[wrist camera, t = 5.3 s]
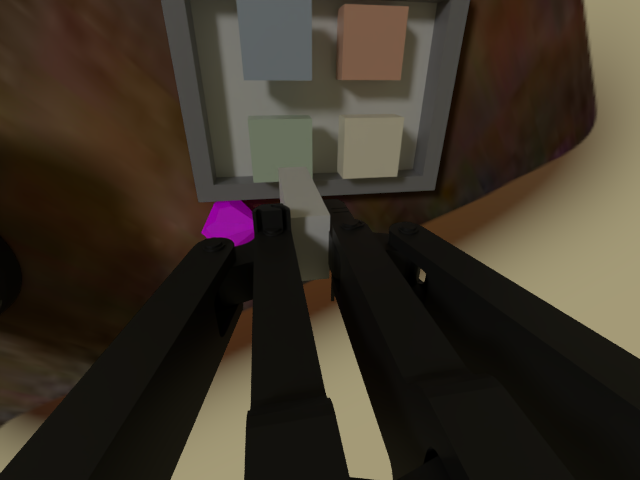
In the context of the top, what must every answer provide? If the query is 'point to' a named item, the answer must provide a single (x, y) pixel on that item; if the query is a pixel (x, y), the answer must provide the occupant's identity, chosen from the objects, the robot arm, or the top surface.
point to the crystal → (230, 222)
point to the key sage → (279, 144)
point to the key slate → (276, 39)
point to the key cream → (369, 145)
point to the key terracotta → (370, 42)
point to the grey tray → (310, 96)
